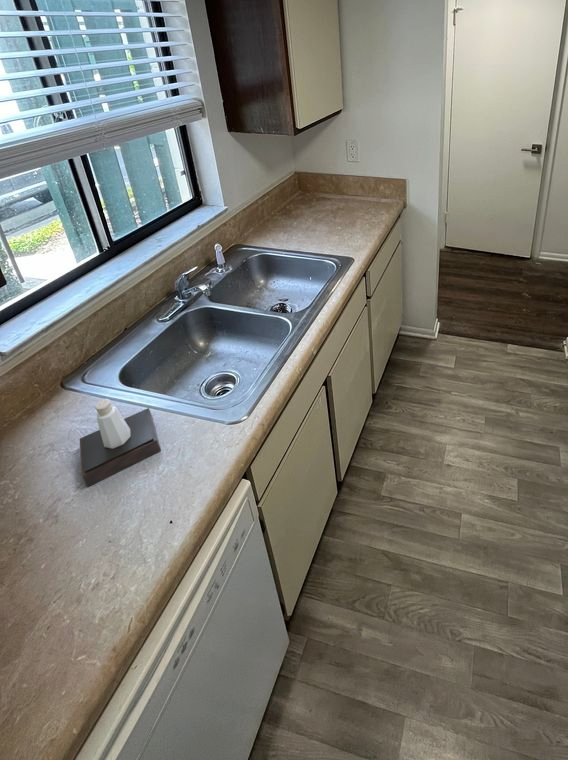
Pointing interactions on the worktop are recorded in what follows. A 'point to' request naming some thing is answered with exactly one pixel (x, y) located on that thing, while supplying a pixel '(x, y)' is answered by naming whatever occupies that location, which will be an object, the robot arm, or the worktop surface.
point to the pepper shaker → (111, 424)
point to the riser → (118, 449)
